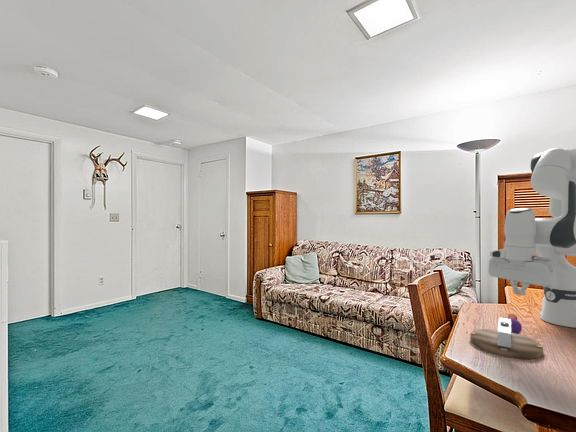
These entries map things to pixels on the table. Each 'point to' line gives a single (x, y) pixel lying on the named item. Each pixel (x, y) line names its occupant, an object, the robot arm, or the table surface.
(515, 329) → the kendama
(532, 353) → the lock plate
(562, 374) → the table surface
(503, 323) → the bar
